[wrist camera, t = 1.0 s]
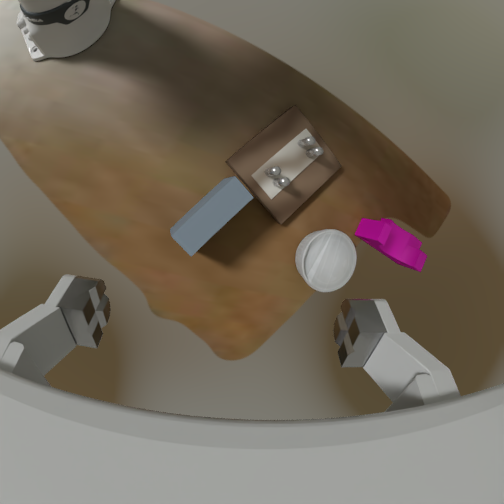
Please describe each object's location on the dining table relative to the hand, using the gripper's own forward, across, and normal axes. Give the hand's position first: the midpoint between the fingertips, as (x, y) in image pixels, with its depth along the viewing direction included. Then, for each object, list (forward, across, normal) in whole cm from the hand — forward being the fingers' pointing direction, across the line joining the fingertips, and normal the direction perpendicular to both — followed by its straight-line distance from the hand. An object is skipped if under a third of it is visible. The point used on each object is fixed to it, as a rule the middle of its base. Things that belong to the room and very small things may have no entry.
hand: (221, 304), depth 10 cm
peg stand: (+44, -8, +8) cm, 45 cm away
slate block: (+37, +5, +16) cm, 41 cm away
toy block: (+44, -32, +21) cm, 59 cm away
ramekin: (+39, -16, +24) cm, 48 cm away
